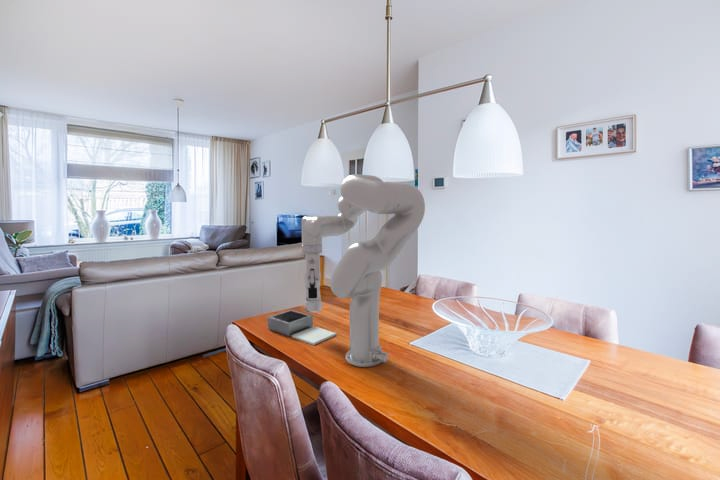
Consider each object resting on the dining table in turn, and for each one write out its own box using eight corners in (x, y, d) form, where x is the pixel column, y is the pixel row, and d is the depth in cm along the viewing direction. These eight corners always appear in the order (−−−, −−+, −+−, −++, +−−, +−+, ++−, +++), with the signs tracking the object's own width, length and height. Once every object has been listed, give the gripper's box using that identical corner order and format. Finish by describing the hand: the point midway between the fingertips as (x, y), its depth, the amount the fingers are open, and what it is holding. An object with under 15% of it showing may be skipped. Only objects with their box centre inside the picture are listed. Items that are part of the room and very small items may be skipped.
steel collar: (312, 327, 138) (312, 315, 138) (289, 336, 129) (288, 324, 128) (291, 320, 146) (291, 309, 146) (268, 328, 137) (267, 317, 136)
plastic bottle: (322, 313, 125) (321, 261, 123) (304, 314, 124) (302, 261, 122) (321, 308, 132) (321, 258, 130) (304, 309, 131) (303, 259, 129)
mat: (336, 335, 130) (336, 333, 130) (313, 345, 120) (313, 343, 120) (314, 328, 137) (314, 326, 137) (291, 337, 128) (291, 335, 128)
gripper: (322, 251, 117) (322, 302, 119) (322, 245, 134) (322, 289, 136) (300, 252, 116) (301, 302, 118) (303, 246, 133) (304, 290, 135)
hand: (313, 295), depth 127 cm, fingers closed on plastic bottle, 5 cm apart
